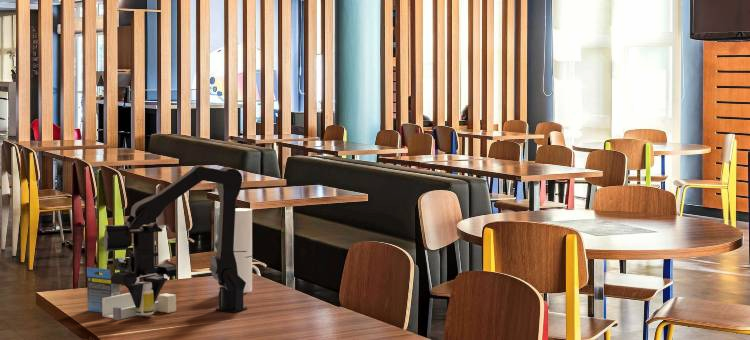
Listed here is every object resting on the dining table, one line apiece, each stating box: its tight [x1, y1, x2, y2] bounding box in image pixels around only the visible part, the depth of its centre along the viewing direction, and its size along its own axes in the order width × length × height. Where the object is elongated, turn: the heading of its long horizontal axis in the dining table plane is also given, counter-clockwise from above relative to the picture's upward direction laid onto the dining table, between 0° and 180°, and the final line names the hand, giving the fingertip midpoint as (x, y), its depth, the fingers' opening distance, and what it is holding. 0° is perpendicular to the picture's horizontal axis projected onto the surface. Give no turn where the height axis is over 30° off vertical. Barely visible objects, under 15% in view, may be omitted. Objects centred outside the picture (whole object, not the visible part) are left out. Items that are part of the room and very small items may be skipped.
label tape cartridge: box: [86, 266, 121, 313], centre depth 291 cm, size 9×4×12 cm, turn 62°
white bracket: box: [101, 292, 177, 321], centre depth 289 cm, size 10×19×5 cm, turn 145°
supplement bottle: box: [136, 281, 155, 316], centre depth 284 cm, size 5×5×8 cm
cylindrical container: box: [234, 207, 253, 294], centre depth 322 cm, size 7×7×25 cm
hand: (144, 306), depth 285 cm, fingers closed on supplement bottle, 5 cm apart
